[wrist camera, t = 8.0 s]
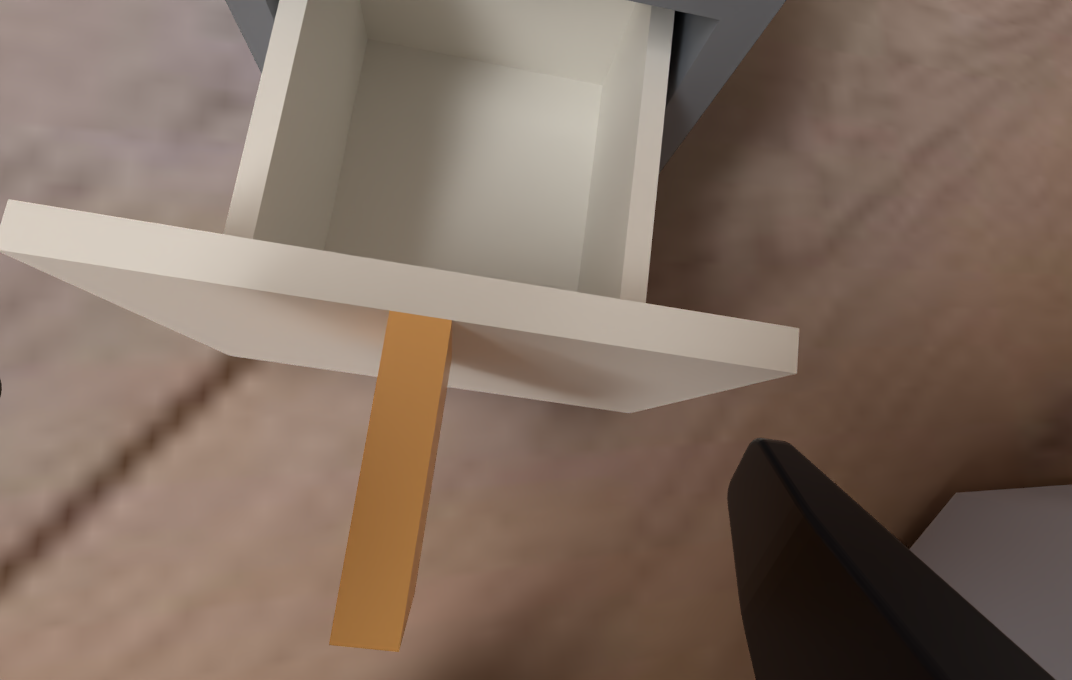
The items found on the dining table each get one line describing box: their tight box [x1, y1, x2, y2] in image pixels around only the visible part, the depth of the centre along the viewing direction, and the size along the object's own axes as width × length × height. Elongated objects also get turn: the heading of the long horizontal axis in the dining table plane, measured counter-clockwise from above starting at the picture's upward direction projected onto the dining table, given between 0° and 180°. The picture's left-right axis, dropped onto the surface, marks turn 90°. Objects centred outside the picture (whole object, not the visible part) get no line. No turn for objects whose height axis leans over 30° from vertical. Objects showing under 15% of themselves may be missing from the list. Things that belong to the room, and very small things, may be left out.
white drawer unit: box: [0, 0, 799, 652], centre depth 16 cm, size 17×13×10 cm
